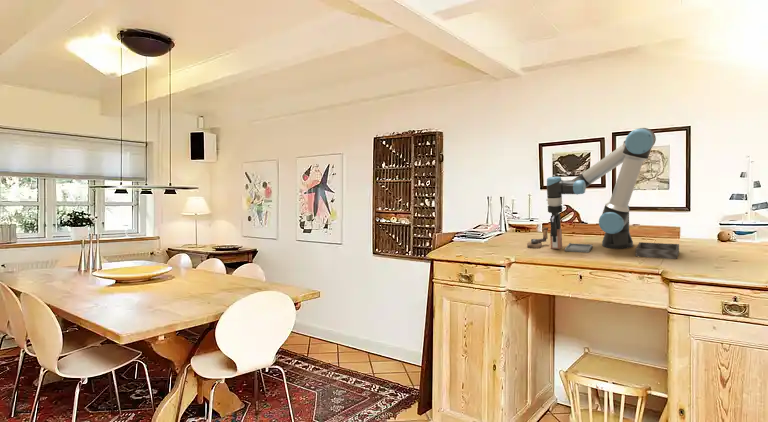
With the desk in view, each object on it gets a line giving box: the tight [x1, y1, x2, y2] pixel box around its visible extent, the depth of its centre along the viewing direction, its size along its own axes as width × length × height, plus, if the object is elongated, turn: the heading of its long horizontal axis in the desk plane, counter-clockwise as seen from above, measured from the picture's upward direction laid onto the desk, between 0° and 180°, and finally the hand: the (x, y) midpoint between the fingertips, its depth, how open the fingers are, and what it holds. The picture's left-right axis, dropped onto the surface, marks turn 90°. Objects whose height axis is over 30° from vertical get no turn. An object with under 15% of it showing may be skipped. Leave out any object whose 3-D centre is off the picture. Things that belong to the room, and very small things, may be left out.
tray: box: [564, 242, 593, 253], centre depth 261 cm, size 12×12×2 cm
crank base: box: [526, 241, 543, 249], centre depth 275 cm, size 8×8×2 cm
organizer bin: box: [635, 241, 680, 260], centre depth 239 cm, size 18×14×4 cm
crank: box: [530, 227, 549, 243], centre depth 275 cm, size 10×4×8 cm, turn 102°
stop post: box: [549, 228, 563, 250], centre depth 267 cm, size 5×5×10 cm
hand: (556, 246), depth 268 cm, fingers closed on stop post, 5 cm apart
